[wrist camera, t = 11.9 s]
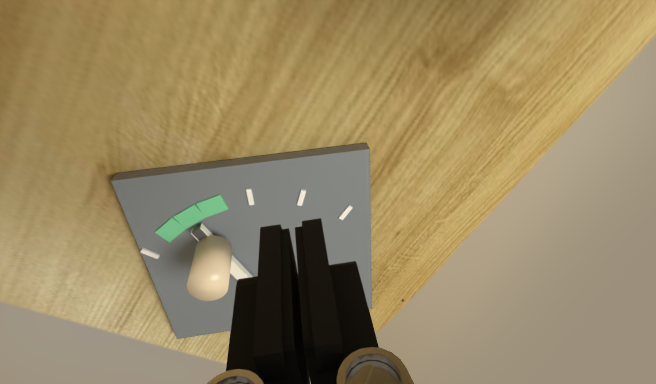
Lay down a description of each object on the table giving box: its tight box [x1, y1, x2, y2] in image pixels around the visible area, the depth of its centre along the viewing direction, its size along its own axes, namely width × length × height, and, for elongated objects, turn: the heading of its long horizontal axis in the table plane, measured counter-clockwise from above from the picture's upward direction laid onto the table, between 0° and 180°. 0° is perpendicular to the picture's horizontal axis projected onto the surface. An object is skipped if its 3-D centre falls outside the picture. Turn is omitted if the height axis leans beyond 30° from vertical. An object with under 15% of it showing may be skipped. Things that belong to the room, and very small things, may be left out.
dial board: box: [111, 143, 372, 339], centre depth 42 cm, size 24×22×2 cm
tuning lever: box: [187, 223, 253, 301], centre depth 40 cm, size 15×4×6 cm, turn 29°
